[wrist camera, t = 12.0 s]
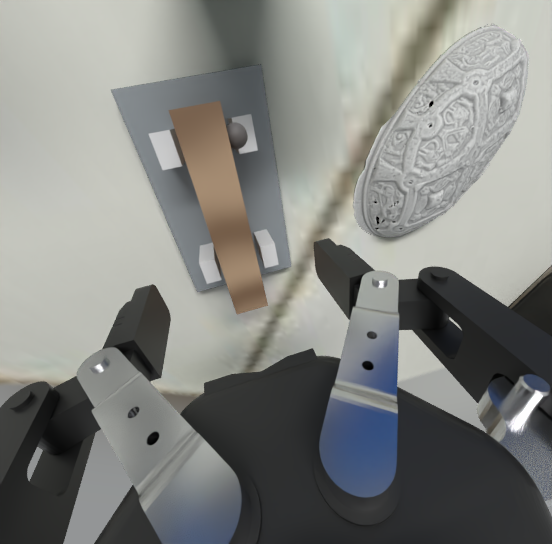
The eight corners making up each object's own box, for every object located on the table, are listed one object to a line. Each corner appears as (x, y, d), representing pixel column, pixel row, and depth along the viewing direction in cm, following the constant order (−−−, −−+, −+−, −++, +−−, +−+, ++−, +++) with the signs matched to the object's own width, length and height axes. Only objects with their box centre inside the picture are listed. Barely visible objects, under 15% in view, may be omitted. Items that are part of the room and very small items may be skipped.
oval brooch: (327, 217, 30) (362, 238, 25) (470, -30, 22) (564, -77, 17) (398, 253, 38) (435, 275, 33) (521, 81, 30) (597, 72, 25)
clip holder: (116, 91, 20) (90, 82, 16) (257, 67, 22) (271, 52, 17) (197, 285, 31) (196, 313, 26) (288, 261, 32) (301, 283, 28)
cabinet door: (180, 114, 21) (168, 110, 14) (231, 104, 21) (243, 96, 15) (229, 271, 29) (236, 314, 23) (265, 261, 30) (282, 301, 23)
